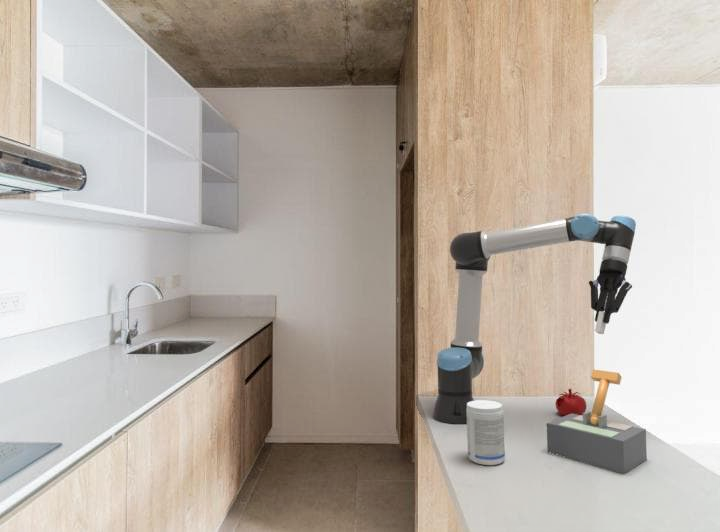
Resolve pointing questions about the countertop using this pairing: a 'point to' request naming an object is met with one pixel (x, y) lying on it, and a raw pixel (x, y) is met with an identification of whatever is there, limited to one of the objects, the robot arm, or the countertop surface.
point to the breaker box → (597, 442)
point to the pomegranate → (570, 404)
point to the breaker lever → (602, 391)
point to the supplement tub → (485, 432)
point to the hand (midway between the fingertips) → (599, 332)
